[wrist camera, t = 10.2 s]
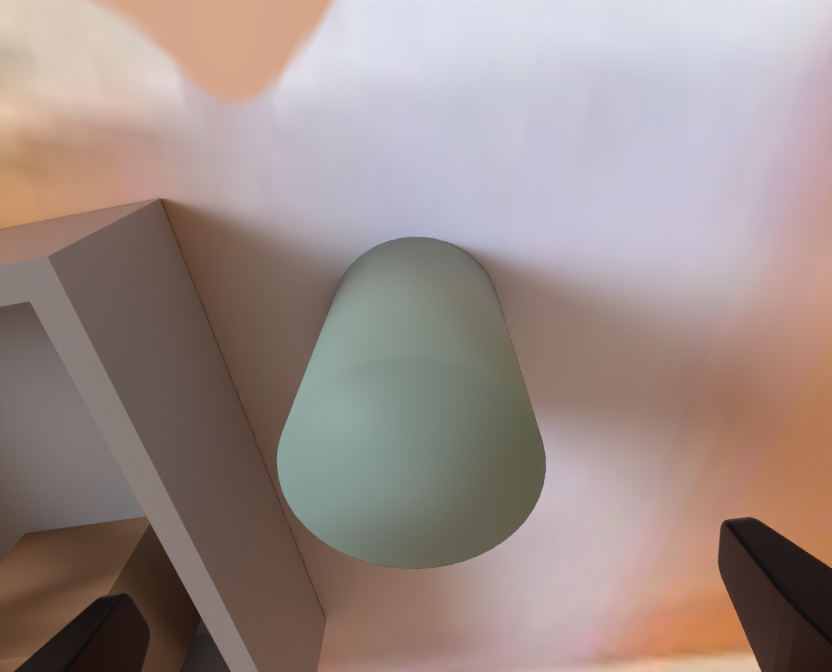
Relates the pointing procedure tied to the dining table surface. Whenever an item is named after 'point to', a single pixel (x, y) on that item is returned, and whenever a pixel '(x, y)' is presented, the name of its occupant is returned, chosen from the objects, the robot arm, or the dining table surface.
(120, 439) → the tote
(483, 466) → the teal cylinder
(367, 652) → the dining table surface
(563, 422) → the dining table surface
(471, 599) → the dining table surface
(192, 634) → the walnut cube
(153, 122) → the dining table surface
